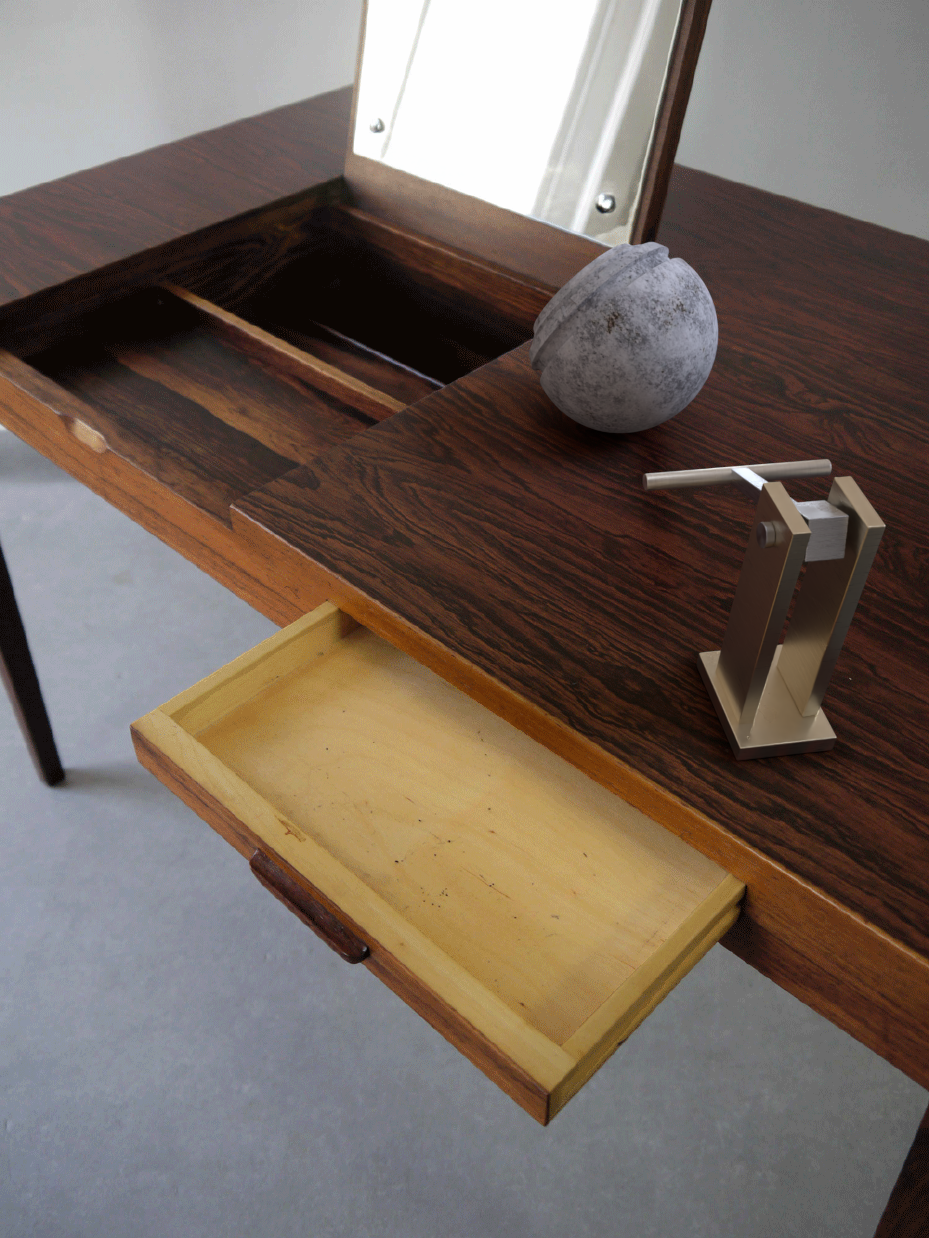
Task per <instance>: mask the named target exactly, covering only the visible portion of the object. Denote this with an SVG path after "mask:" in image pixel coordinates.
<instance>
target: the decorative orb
mask: <svg viewBox="0 0 929 1238" xmlns="http://www.w3.org/2000/svg"><path fill="white" fill-rule="evenodd" d="M669 253H670V250H669V248H668V247H667V246H666V245H665V246H664V245H663V244H660V243H658V242H655V241H648V242H645V243H641V244H635V245H634V244H633V245H632V244H630V243H621V244H618V245H616V246H613V247H612V248H609V249H608V250H606V251H604V252H603V253H602V254H600V255H599V256H597V257H596V258H595V259H593V260H592V261H590V262H589V263H588V264H586V266H584V267H583V268H582V269H581V270H579V271H578V272H577V273H576V274H575V275H574V276H572V277H571V278H570V279H569V280H568V281H567V282H566V283H565V284H564V285H563V286H561V288H560V289H559V290H558V291H557V292H556V293H555V294H554V296H553V297H552V298H550V300H549V301H548V303H547V304H546V305H545V306H544V307H543V309H542V310H541V311H540V313H539V315H538V316H537V318H536V320H535V322H534V324H533V334H534V335H533V337H532V338H533V339H532V343H531V346H530V347H529V349H528V350H529V351H528V357H529V361H530V366H531V369H532V370H533V371H540V372H541V375H540V379H539V384H540V386H541V388H542V390H543V392H544V393H545V394H546V396H547V397H548V398H549V400H550V402H551V403H553V404H554V405H555V407H556V408H557V409H558V410H559V411H561V412H562V413H563V414H564V415H566V417H568V418H570V419H571V420H573V421H575V422H576V423H578V424H580V425H582V426H584V427H585V428H588V429H592V430H595V431H599V432H602V433H611V434H629V433H637V432H642V431H646V430H649V429H653V428H655V427H657V426H659V425H661V424H664V423H665V422H667V421H669V420H670V419H672V418H674V417H675V416H676V415H679V414H680V413H681V412H682V411H684V409H685V408H686V407H688V405H689V404H690V403H691V402H692V401H693V400H694V399H695V398H696V396H697V395H698V394H699V393H700V391H701V390H702V389H703V387H704V386H705V383H706V381H707V380H708V378H709V375H710V373H711V371H712V369H713V367H714V366H713V365H714V362H715V360H716V356H717V351H718V344H719V324H718V323H719V322H718V318H717V312H716V311H717V310H716V307H715V304H714V301H713V298H712V296H711V293H710V291H709V290H708V288H707V285H706V284H705V282H704V281H703V279H702V278H701V277H700V275H699V274H698V272H696V271H695V269H694V268H693V267H692V266H691V265H690V264H688V262H686V261H685V260H684V259H683V258H681V257H673V258H670V257H669Z"/></svg>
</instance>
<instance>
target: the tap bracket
mask: <svg viewBox="0 0 929 1238" xmlns="http://www.w3.org/2000/svg"><path fill="white" fill-rule="evenodd" d="M768 482H769V483H763V485H762V489H761V493H760V497H759V501H758V505H757V504H756V509H755V514H754V518H753V521H752V525H751V529H750V534H749V536H748V541H747V545H746V549H745V553H744V557H743V561H742V565H741V568H740V573H739V575H738V576H739V577H738V580H737V585H736V590H735V593H734V595H733V600H732V603H731V604H732V605H731V609H730V612H729V616H728V621H727V625H726V627H725V632H724V635H723V641H722V644H721V648H720V650H714V651H704V652H698V656H697V660H696V664H695V665H696V666H695V667H696V668H697V671H698V673H699V676H700V678H701V681H702V683H703V685H704V687H705V689H706V692H707V694H708V697H709V699H710V701H711V704H712V706H713V708H714V710H715V713H716V715H717V718H718V720H719V722H720V725H721V727H722V729H723V732H724V734H725V736H726V739H727V741H728V743H729V745H730V748H731V751H732V753H733V755H734V757H735V760H736V761H738V762H739V761H747V760H756V759H757V760H758V759H765V758H772V757H782V756H792V755H799V754H800V755H801V754H809V753H817V752H819V753H820V752H826V751H828V752H829V751H832V750H833V749H834V746H835V743H836V741H837V739H838V738H837V735H836V733H835V731H834V729H833V727H832V726H831V724H830V722H829V719H828V718H827V716H826V714H825V712H824V711H823V709H822V707H821V706H822V703H823V700H824V697H825V696H826V695H825V694H826V692H827V689H828V687H829V684H830V681H831V678H832V675H833V673H834V671H835V668H836V664H837V662H838V659H839V656H840V653H841V650H842V648H843V646H844V642H845V640H846V637H847V634H848V632H849V630H850V626H851V623H852V620H853V618H854V616H855V615H854V614H855V612H856V609H857V607H858V604H859V601H860V598H861V596H862V593H863V589H864V587H865V585H866V582H867V579H868V577H869V573H870V571H871V568H872V566H873V562H874V560H875V557H876V555H877V552H878V549H879V546H880V543H881V540H882V538H883V535H884V532H885V530H886V524H885V522H884V521H883V519H882V517H880V515H879V513H878V512H877V510H875V508H874V507H873V505H872V504H871V502H870V501H869V500H868V498H867V497H866V495H865V494H864V493H863V491H862V489H861V488H860V486H859V485H858V484H857V483H856V481H855V479H854V478H853V477H852V476H851V475H848V476H835V477H834V478H833V481H832V484H831V488H830V491H829V493H828V497H827V500H826V501H827V502H828V503H830V504H831V505H833V506H834V507H836V508H837V509H839V510H841V511H842V512H844V513H845V514H847V515H848V516H849V519H848V528H847V537H846V545H845V554H844V558H843V559H834V560H823V561H812V562H807V565H806V568H805V572H804V575H803V578H802V581H801V585H800V588H799V591H798V594H797V598H796V601H795V605H794V607H793V611H792V615H791V617H790V621H789V624H788V626H787V630H786V633H785V636H784V640H783V643H782V644H779V641H780V639H781V635H782V631H783V628H784V625H785V622H786V618H787V616H788V611H789V608H790V605H791V602H792V598H793V595H794V592H795V589H796V585H797V583H798V579H799V576H800V572H801V569H802V565H803V562H804V561H803V559H804V556H805V553H806V549H807V546H808V543H809V539H810V536H811V531H810V529H809V527H808V526H807V524H806V523H805V521H804V519H803V518H802V516H801V514H800V513H799V511H798V510H797V508H796V506H795V505H794V503H793V501H792V500H791V498H792V497H791V498H790V495H789V493H788V491H787V490H786V488H785V487H784V485H783V484H782V482H781V481H768Z"/></svg>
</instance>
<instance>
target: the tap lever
mask: <svg viewBox="0 0 929 1238" xmlns="http://www.w3.org/2000/svg"><path fill="white" fill-rule="evenodd" d="M832 467H833V466H832V462H831V461H830V459H828V458H823V459H811V460H798V461H785V462H774V463H762V464H761V463H759V464H750V465H749V464H748V465H736V466H725V467H723V466H722V467H712V468H711V467H710V468H699V469H698V468H697V469H686V470H685V469H684V470H673V471H672V470H671V471H661V472H649V473H648V472H647V473H644V474H643V475H642V487H643V490H644V491H645V492H651V491H652V492H653V491H664V490H675V489H689V488H690V489H691V488H700V487H713V486H723V485H726V486H727V485H731V486H732V487H733V488H735V489H736V490H737V491H739V492H740V493H741V494H743V495H744V496H746V497H747V498H748V499H749V500H751V501H752V502H754V503H755V504H756V506H757V505H758V501H759V497H760V493H761V489H762V485H763V483H769V482H776V481H786V480H787V481H788V480H798V479H799V480H800V479H810V478H811V479H812V478H823V477H828V476H830V475H831V473H832V469H833V468H832ZM790 498H791V500H792V501H793V503H794V505H795V506H796V508H797V510H798V511H799V513H800V514H801V516H802V518H803V519H804V521H805V523H806V524H807V526H808V527H809V529H810V531H811V536H810V539H809V543H808V546H807V549H806V553H805V556H804V559H803V562H804V563H808V562H812V561H823V560H834V559H843V558H844V554H845V545H846V537H847V528H848V519H849V516H848V515H847V514H845V513H844V512H842V511H841V510H839V509H837V508H836V507H834V506H833V505H831V504H830V503H828V502H827V500H825V499H822V500H811V501H799V502H798V501H797V500H795V499H793V498H792V497H790Z"/></svg>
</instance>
